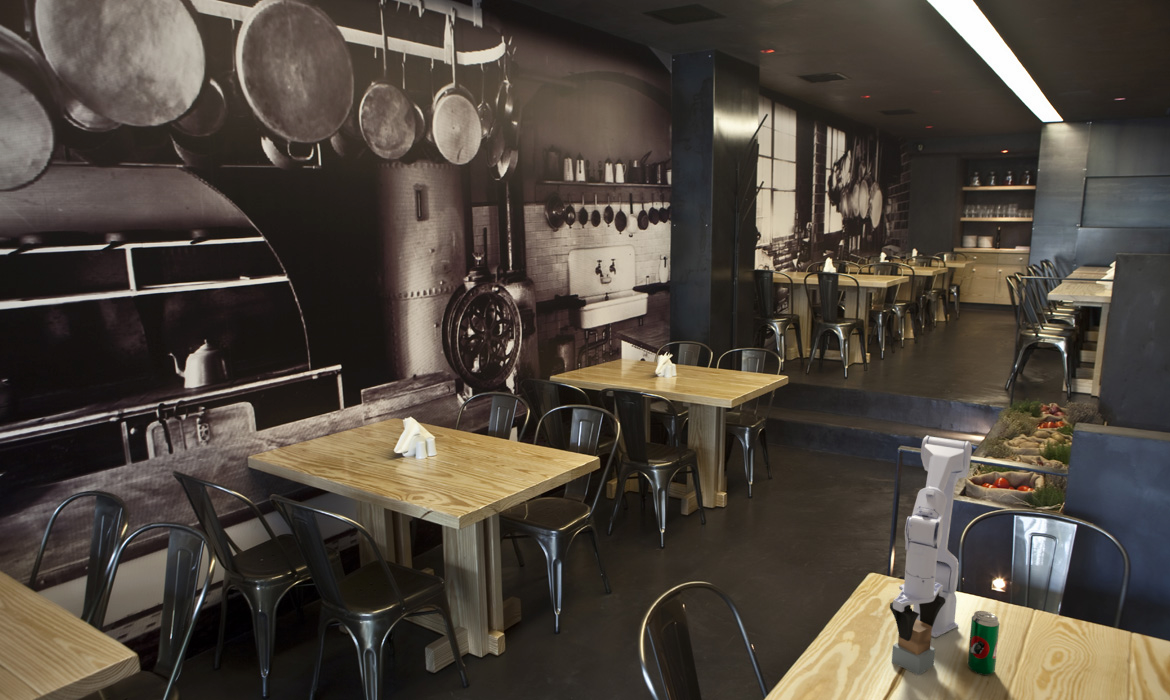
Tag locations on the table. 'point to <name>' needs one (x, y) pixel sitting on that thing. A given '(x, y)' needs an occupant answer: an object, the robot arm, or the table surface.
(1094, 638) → the table surface
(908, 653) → the slate block
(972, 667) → the soda can
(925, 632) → the walnut block
